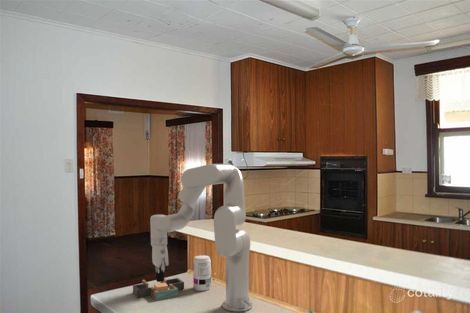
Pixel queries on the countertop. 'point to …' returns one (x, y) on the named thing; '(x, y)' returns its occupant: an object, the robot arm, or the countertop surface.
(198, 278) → the supplement can
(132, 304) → the countertop surface
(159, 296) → the trap channel
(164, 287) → the block
